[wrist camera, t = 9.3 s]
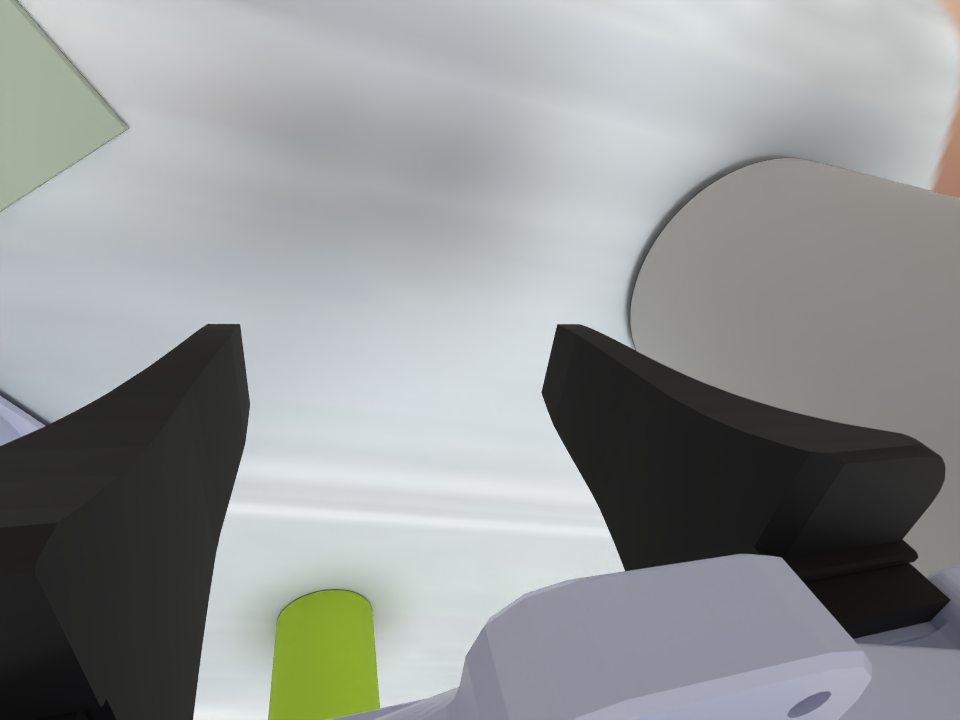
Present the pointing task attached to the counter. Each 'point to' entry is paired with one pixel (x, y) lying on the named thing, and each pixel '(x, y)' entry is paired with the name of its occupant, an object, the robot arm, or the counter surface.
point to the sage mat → (43, 108)
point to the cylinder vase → (820, 308)
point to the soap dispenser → (324, 658)
